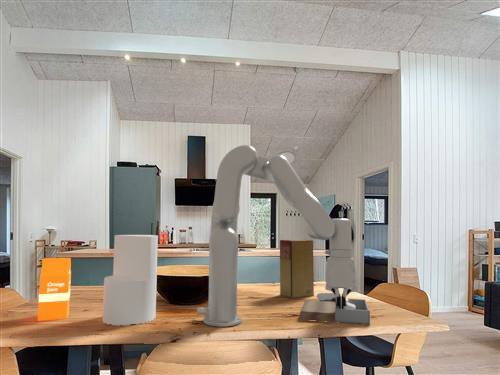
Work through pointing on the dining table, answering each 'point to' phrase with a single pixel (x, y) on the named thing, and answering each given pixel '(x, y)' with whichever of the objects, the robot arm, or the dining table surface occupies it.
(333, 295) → the cleaver
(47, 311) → the orange juice
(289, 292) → the food packaging
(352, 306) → the white rectangular block
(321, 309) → the board
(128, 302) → the white stepped block
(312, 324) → the dining table surface
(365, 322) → the tray
